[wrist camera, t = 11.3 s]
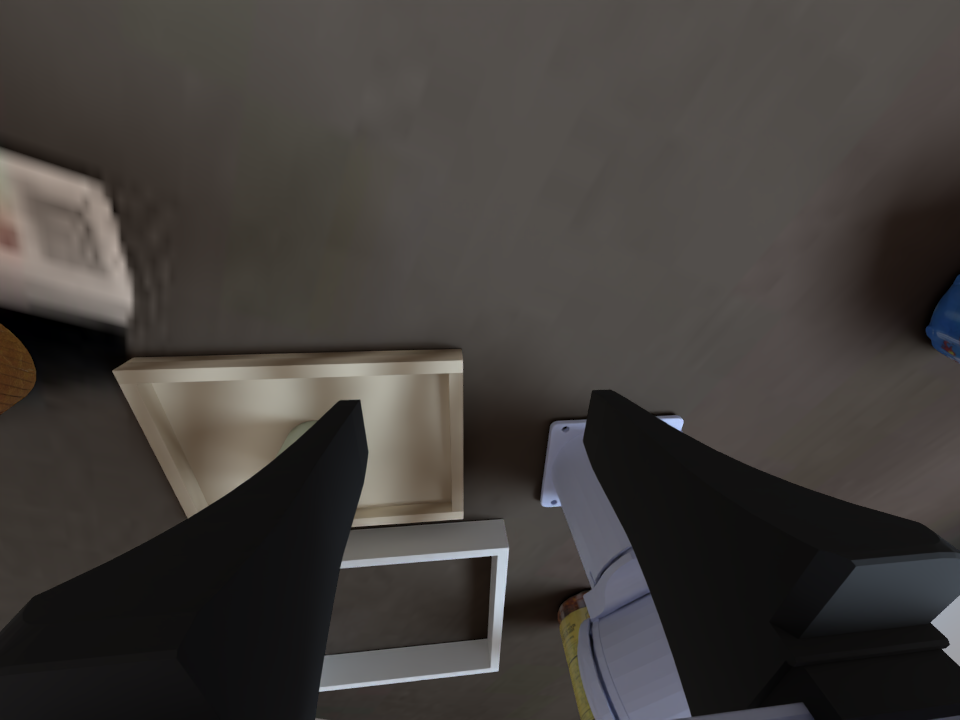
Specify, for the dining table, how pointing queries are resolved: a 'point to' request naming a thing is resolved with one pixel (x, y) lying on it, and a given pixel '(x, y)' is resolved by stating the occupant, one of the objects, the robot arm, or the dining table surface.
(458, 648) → the white hollow square frame
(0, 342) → the disposable coffee cup
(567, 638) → the sauce bottle
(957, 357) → the snack cup
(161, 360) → the birch tray
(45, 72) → the dining table surface
